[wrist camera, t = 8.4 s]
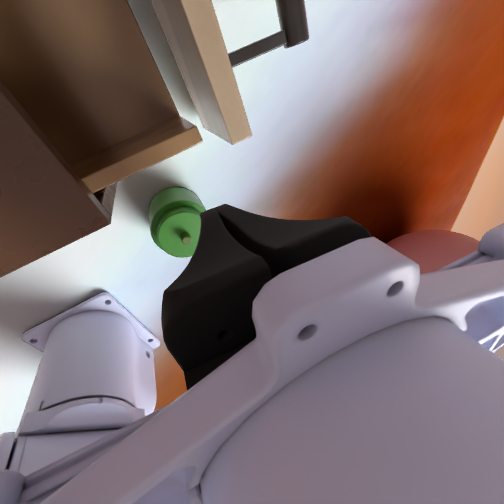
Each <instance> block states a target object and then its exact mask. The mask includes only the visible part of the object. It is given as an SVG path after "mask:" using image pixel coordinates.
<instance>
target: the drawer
mask: <svg viewBox="0 0 504 504" xmlns="http://www.w3.org/2000/svg"><path fill="white" fill-rule="evenodd" d="M275 1H276V7H277V12H278V17H279V23H280V28H281V31H280V32H277V33H275V34H273V35H270V36H268V37H266V38H263V39H261V40H259V41H256V42H254V43H252V44H249V45H247V46H245V47H242V48H240V49H238V50H235V51H233V52H231V53H227V50H226V47H225V43H224V40H223V37H222V33H221V30H220V27H219V23H218V20H217V17H216V14H215V10H214V7H213V4H212V0H151V2H152V5H153V7H154V10H155V12H156V15H157V17H158V19H159V22H160V24H161V27H162V29H163V31H164V34H165V36H166V39H167V41H168V43H169V46H170V48H171V51H172V53H173V56H174V58H175V60H176V63H177V65H178V68H179V70H180V72H181V75H182V77H183V80H184V82H185V84H186V87H187V89H188V92H189V94H190V96H191V99H192V101H193V104H194V106H195V109H196V111H197V113H198V116H199V118H200V121H201V123H202V125H203V128H205V129H206V130H208V131H210V132H212V133H213V134H215V135H217V136H218V137H220V138H222V139H224V140H225V141H227V142H229V143H230V144H232V145H234V144H236V143H238V142H240V141H242V140H244V139H246V138H249V137H251V136H252V133H251V129H250V126H249V123H248V119H247V116H246V113H245V109H244V106H243V103H242V99H241V96H240V93H239V90H238V86H237V83H236V80H235V76H234V73H233V70H232V68H233V67H235V66H237V65H240V64H242V63H244V62H246V61H249V60H251V59H253V58H256V57H258V56H260V55H262V54H265V53H267V52H269V51H272V50H274V49H276V48H278V47H281V46H283V45H284V48H289V47H292V46H295V45H298V44H300V43H302V42H305V41H307V40H308V39H309V32H308V25H307V17H306V10H305V2H304V0H275ZM0 80H1V81H2V83H3V84H4V85H5V86H6V88H7V89H8V90H9V91H10V92H11V94H12V95H13V96H14V97H15V99H16V100H17V101H18V102H19V104H20V105H21V106H22V107H23V108H24V110H25V111H26V112H27V113H28V115H29V116H30V117H31V118H32V120H33V121H34V122H35V123H36V125H37V126H38V127H39V128H40V129H41V131H42V132H43V133H44V134H45V136H46V137H47V138H48V139H49V141H50V142H51V143H52V144H53V145H54V147H55V148H56V149H57V150H58V152H59V153H60V154H61V155H62V157H63V158H64V159H65V160H66V161H67V163H68V164H69V165H70V166H71V168H72V169H73V170H74V171H75V173H76V174H77V175H78V176H79V178H80V179H81V180H82V181H83V182H84V184H85V185H86V186H87V187H88V189H89V190H90V191H91V192H92V193H95V192H97V191H99V190H101V189H103V188H105V187H107V186H109V185H112V184H114V183H116V182H118V181H120V180H122V179H124V178H127V177H129V176H131V175H133V174H135V173H137V172H139V171H142V170H144V169H146V168H148V167H150V166H152V165H154V164H157V163H159V162H161V161H163V160H165V159H167V158H169V157H172V156H174V155H176V154H178V153H180V152H182V151H184V150H186V149H189V148H191V147H193V146H195V145H197V144H199V143H201V142H202V138H201V135H200V133H199V131H198V128H197V127H196V126H195V125H193V124H192V123H190V122H189V121H187V120H185V119H184V118H182V117H181V116H180V115H179V113H178V111H177V109H176V107H175V104H174V102H173V100H172V98H171V96H170V93H169V91H168V89H167V87H166V85H165V83H164V80H163V78H162V76H161V74H160V72H159V70H158V67H157V65H156V63H155V61H154V59H153V56H152V54H151V52H150V50H149V48H148V46H147V43H146V41H145V39H144V37H143V35H142V32H141V30H140V28H139V26H138V24H137V22H136V19H135V17H134V15H133V13H132V11H131V8H130V6H129V4H128V2H127V0H0Z"/></svg>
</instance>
